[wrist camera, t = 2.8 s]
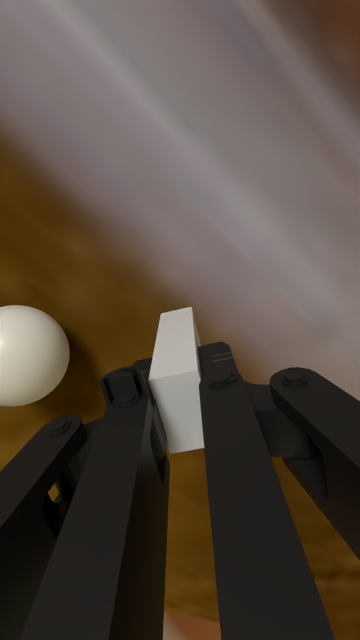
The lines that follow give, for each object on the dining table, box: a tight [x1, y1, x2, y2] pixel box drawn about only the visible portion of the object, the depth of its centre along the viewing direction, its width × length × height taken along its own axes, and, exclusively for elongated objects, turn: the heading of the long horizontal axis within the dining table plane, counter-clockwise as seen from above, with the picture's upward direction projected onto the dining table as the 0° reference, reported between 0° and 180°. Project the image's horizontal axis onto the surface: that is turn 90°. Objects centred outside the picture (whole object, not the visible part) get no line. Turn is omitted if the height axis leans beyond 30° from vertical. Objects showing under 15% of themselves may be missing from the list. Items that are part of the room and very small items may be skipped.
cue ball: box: [0, 305, 70, 406], centre depth 18 cm, size 6×6×6 cm
